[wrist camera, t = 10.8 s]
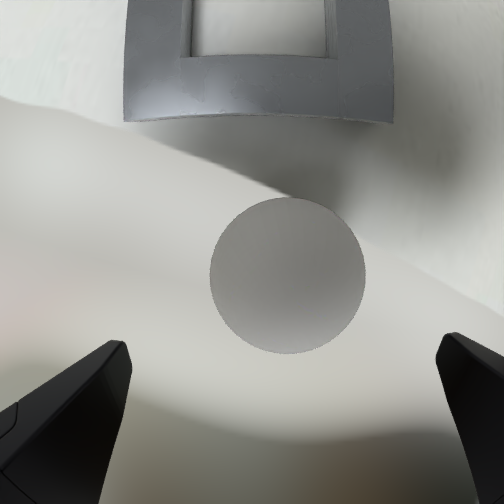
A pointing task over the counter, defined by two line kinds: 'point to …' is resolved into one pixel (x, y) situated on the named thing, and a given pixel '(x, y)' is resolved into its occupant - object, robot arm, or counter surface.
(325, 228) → the light bulb
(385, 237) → the counter surface
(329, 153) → the counter surface
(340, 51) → the socket collar
